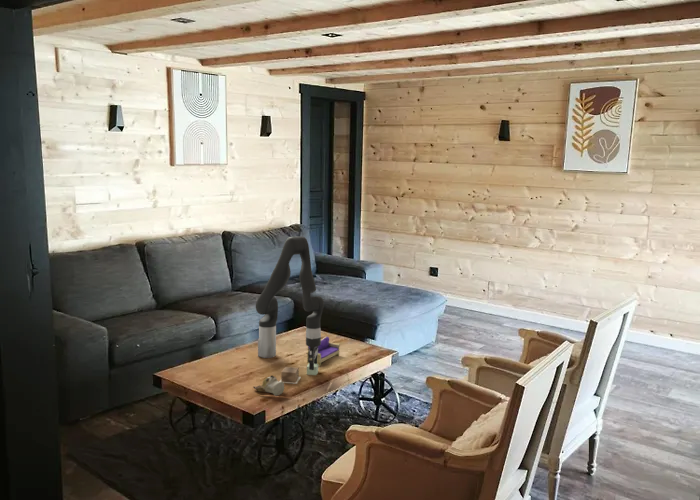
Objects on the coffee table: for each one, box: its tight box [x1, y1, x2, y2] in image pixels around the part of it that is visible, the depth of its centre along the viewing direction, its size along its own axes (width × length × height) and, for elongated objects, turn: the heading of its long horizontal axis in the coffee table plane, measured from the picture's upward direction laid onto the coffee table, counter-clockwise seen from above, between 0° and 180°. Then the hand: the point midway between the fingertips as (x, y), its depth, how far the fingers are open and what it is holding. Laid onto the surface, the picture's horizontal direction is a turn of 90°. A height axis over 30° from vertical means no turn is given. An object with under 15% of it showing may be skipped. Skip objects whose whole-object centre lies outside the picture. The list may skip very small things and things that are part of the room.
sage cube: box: [306, 363, 319, 376], centre depth 309 cm, size 5×5×5 cm
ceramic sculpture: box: [252, 375, 285, 397], centre depth 284 cm, size 11×9×15 cm
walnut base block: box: [280, 366, 300, 384], centre depth 299 cm, size 7×7×5 cm
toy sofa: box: [306, 336, 341, 367], centre depth 331 cm, size 21×9×10 cm, turn 150°
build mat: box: [278, 376, 301, 385], centre depth 300 cm, size 12×12×1 cm
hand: (313, 366), depth 308 cm, fingers open, 8 cm apart
